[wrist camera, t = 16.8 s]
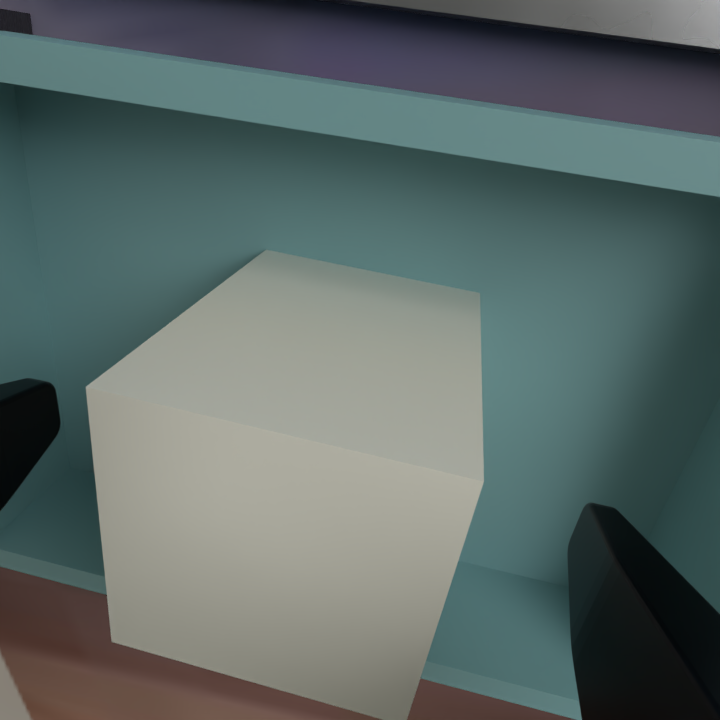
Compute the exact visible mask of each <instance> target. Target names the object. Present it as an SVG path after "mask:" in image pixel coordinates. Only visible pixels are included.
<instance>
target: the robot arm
mask: <svg viewBox="0 0 720 720" xmlns="http://www.w3.org/2000/svg"><path fill="white" fill-rule="evenodd" d="M60 425H61V420H60V413H59V407H58V400H57V393H56V389H55V387H54V385H53V384H51V383H50V382H47V381H43V380H38V379H34V378H24V379H20V380H16V381H12V382H7V383H3V384H0V511H1V510H2V509H3V508H4V507H5V505H6V504H7V503H8V501H9V500H10V499H11V498H12V496H13V495H14V494H15V492H16V491H17V490H18V488H19V487H20V485H21V484H22V483H23V481H24V480H25V479H26V477H27V476H28V475H29V473H30V472H31V471H32V469H33V468H34V466H35V465H36V464H37V462H38V461H39V460H40V458H41V457H42V456H43V454H44V453H45V452H46V450H47V449H48V447H49V446H50V445H51V443H52V442H53V441H54V439H55V438H56V436H57V435H58V432H59V430H60ZM567 561H568V587H569V612H570V636H571V650H572V658H573V666H574V672H575V679H576V685H577V691H578V698H579V704H580V711H581V717H582V720H720V613H719V612H718V611H717V610H716V609H715V608H714V607H713V606H712V605H711V604H710V603H709V602H708V601H707V600H706V599H705V598H704V597H703V596H702V595H701V594H700V593H699V592H698V591H697V590H696V589H695V588H694V587H693V586H692V585H691V584H690V583H689V582H688V581H687V580H686V579H685V578H684V577H683V576H682V575H681V574H680V573H679V572H678V571H677V570H676V569H675V568H674V567H673V566H672V565H671V564H670V563H669V562H668V561H667V560H666V559H665V558H664V557H663V556H662V555H661V554H660V553H659V552H658V551H657V549H656V548H655V547H654V546H653V545H652V544H651V543H650V542H649V541H648V540H647V539H646V538H645V537H644V536H643V535H642V534H641V533H640V532H639V531H638V530H637V529H636V528H635V527H634V526H633V525H632V524H631V523H630V522H629V521H628V520H627V519H626V518H625V517H624V516H623V515H622V514H621V513H620V512H619V511H618V510H617V509H615V508H614V507H610V506H606V505H601V504H597V503H592V502H590V503H588V504H586V505H585V506H584V507H583V509H582V512H581V514H580V516H579V519H578V521H577V523H576V526H575V528H574V531H573V533H572V535H571V538H570V541H569V544H568V551H567Z"/></svg>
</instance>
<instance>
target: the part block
mask: <svg viewBox="0 0 720 720" xmlns="http://www.w3.org/2000/svg"><path fill="white" fill-rule="evenodd" d="M86 395H87V405H88V415H89V425H90V434H91V444H92V454H93V464H94V474H95V483H96V493H97V503H98V513H99V523H100V532H101V542H102V552H103V562H104V571H105V581H106V591H107V601H108V611H109V620H110V630H111V640H112V642H114V643H118V644H121V645H125V646H128V647H132V648H135V649H139V650H142V651H146V652H149V653H153V654H156V655H160V656H163V657H167V658H170V659H174V660H177V661H180V662H184V663H187V664H191V665H194V666H198V667H201V668H205V669H208V670H212V671H215V672H219V673H222V674H226V675H229V676H233V677H236V678H240V679H243V680H247V681H250V682H254V683H257V684H261V685H264V686H268V687H271V688H275V689H278V690H282V691H285V692H289V693H292V694H296V695H299V696H303V697H306V698H310V699H313V700H316V701H320V702H323V703H327V704H330V705H334V706H337V707H341V708H344V709H348V710H351V711H355V712H358V713H362V714H365V715H369V716H372V717H376V718H379V719H383V720H407V718H408V715H409V712H410V708H411V705H412V702H413V699H414V696H415V693H416V690H417V687H418V684H419V681H420V678H421V674H422V671H423V668H424V665H425V662H426V659H427V656H428V653H429V650H430V647H431V644H432V641H433V637H434V634H435V631H436V628H437V625H438V622H439V619H440V616H441V613H442V610H443V607H444V603H445V600H446V597H447V594H448V591H449V588H450V585H451V582H452V579H453V576H454V573H455V569H456V566H457V563H458V560H459V557H460V554H461V551H462V548H463V545H464V542H465V539H466V536H467V532H468V529H469V526H470V523H471V520H472V517H473V514H474V511H475V508H476V505H477V502H478V498H479V495H480V492H481V489H482V486H483V483H484V458H483V411H482V364H481V317H480V293H477V292H472V291H467V290H463V289H458V288H453V287H448V286H443V285H438V284H433V283H428V282H423V281H418V280H413V279H408V278H403V277H399V276H394V275H389V274H384V273H379V272H374V271H369V270H364V269H359V268H354V267H349V266H344V265H339V264H334V263H330V262H325V261H320V260H315V259H310V258H305V257H300V256H295V255H290V254H285V253H280V252H275V251H270V250H265V251H264V252H262V253H261V254H260V255H258V256H257V257H256V258H254V259H253V260H252V261H250V262H249V263H248V264H246V265H245V266H244V267H243V268H241V269H240V270H239V271H237V272H236V273H235V274H233V275H232V276H231V277H229V278H228V279H227V280H225V281H224V282H223V283H222V284H220V285H219V286H218V287H216V288H215V289H214V290H212V291H211V292H210V293H208V294H207V295H206V296H204V297H203V298H202V299H200V300H199V301H198V302H197V303H195V304H194V305H193V306H191V307H190V308H189V309H187V310H186V311H185V312H183V313H182V314H181V315H179V316H178V317H177V318H176V319H174V320H173V321H172V322H170V323H169V324H168V325H166V326H165V327H164V328H162V329H161V330H160V331H158V332H157V333H156V334H154V335H153V336H152V337H151V338H149V339H148V340H147V341H145V342H144V343H143V344H141V345H140V346H139V347H137V348H136V349H135V350H133V351H132V352H131V353H130V354H128V355H127V356H126V357H124V358H123V359H122V360H120V361H119V362H118V363H116V364H115V365H114V366H112V367H111V368H110V369H108V370H107V371H106V372H105V373H103V374H102V375H101V376H99V377H98V378H97V379H95V380H94V381H93V382H91V383H90V384H89V385H87V386H86Z"/></svg>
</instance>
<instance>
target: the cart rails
mask: <svg viewBox="0 0 720 720" xmlns="http://www.w3.org/2000/svg"><path fill="white" fill-rule="evenodd" d="M318 1H325V2H333V3H340V4H348V5H355V6H363V7H370V8H378V9H385V10H393V11H401V12H408V13H416V14H423V15H431V16H438V17H446V18H453V19H461V20H468V21H476V22H483V23H491V24H498V25H506V26H514V27H521V28H529V29H536V30H544V31H551V32H559V33H566V34H574V35H581V36H589V37H596V38H604V39H611V40H619V41H627V42H634V43H642V44H649V45H657V46H664V47H672V48H679V49H687V50H694V51H702V52H709V53H717V54H720V0H318ZM0 31H8V32H16V33H23V34H30V35H32V27H31V19H30V14H28V13H22V12H16V11H10V10H4V9H0Z"/></svg>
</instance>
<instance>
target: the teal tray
mask: <svg viewBox="0 0 720 720" xmlns="http://www.w3.org/2000/svg"><path fill="white" fill-rule="evenodd" d="M265 250H270V251H275V252H280V253H285V254H290V255H295V256H300V257H305V258H310V259H315V260H320V261H325V262H330V263H334V264H339V265H344V266H349V267H354V268H359V269H364V270H369V271H374V272H379V273H384V274H389V275H394V276H399V277H403V278H408V279H413V280H418V281H423V282H428V283H433V284H438V285H443V286H448V287H453V288H458V289H463V290H467V291H472V292H477V293H480V317H481V364H482V411H483V458H484V483H483V486H482V489H481V492H480V495H479V498H478V502H477V505H476V508H475V511H474V514H473V517H472V520H471V523H470V526H469V529H468V532H467V536H466V539H465V542H464V545H463V548H462V551H461V554H460V557H459V560H458V563H457V566H456V569H455V573H454V576H453V579H452V582H451V585H450V588H449V591H448V594H447V597H446V600H445V603H444V607H443V610H442V613H441V616H440V619H439V622H438V625H437V628H436V631H435V634H434V637H433V641H432V644H431V647H430V650H429V653H428V656H427V659H426V662H425V665H424V668H423V671H422V674H421V678H422V679H425V680H429V681H433V682H437V683H441V684H444V685H448V686H452V687H456V688H459V689H463V690H467V691H471V692H474V693H478V694H482V695H486V696H489V697H493V698H497V699H501V700H505V701H508V702H512V703H516V704H520V705H523V706H527V707H531V708H535V709H538V710H542V711H546V712H550V713H553V714H557V715H561V716H565V717H569V718H572V719H576V720H582V717H581V711H580V704H579V698H578V691H577V685H576V679H575V672H574V666H573V658H572V650H571V636H570V612H569V587H568V561H567V551H568V544H569V541H570V538H571V535H572V533H573V531H574V528H575V526H576V523H577V521H578V519H579V516H580V514H581V512H582V509H583V507H584V506H585V505H586V504H588V503H590V502H592V503H597V504H601V505H606V506H610V507H614V508H615V509H617V510H618V511H619V512H620V513H621V514H622V515H623V516H624V517H625V518H626V519H627V520H628V521H629V522H630V523H631V524H632V525H633V526H634V527H635V528H636V529H637V530H638V531H639V532H640V533H641V534H642V535H643V536H644V537H645V538H646V539H647V540H648V541H649V542H650V543H651V544H652V545H653V546H654V547H655V548H656V549H657V551H658V552H659V553H660V554H661V555H662V556H663V557H664V558H665V559H666V560H667V561H668V562H669V563H670V564H671V565H672V566H673V567H674V568H675V569H676V570H677V571H678V572H679V573H680V574H681V575H682V576H683V577H684V578H685V579H686V580H687V581H688V582H689V583H690V584H691V585H692V586H693V587H694V588H695V589H696V590H697V591H698V592H699V593H700V594H701V595H702V596H703V597H704V598H705V599H706V600H707V601H708V602H709V603H710V604H711V605H712V606H713V607H714V608H715V609H716V610H717V611H718V612H719V613H720V137H717V136H710V135H704V134H697V133H690V132H683V131H677V130H670V129H663V128H656V127H650V126H643V125H636V124H629V123H623V122H616V121H609V120H602V119H596V118H589V117H582V116H576V115H569V114H562V113H555V112H549V111H542V110H535V109H528V108H522V107H515V106H508V105H501V104H495V103H488V102H481V101H474V100H468V99H461V98H454V97H448V96H441V95H434V94H427V93H421V92H414V91H407V90H400V89H394V88H387V87H380V86H373V85H367V84H360V83H353V82H346V81H340V80H333V79H326V78H320V77H313V76H306V75H299V74H293V73H286V72H279V71H272V70H266V69H259V68H252V67H245V66H239V65H232V64H225V63H218V62H212V61H205V60H198V59H191V58H185V57H178V56H171V55H165V54H158V53H151V52H144V51H138V50H131V49H124V48H117V47H111V46H104V45H97V44H90V43H84V42H77V41H70V40H63V39H57V38H50V37H43V36H37V35H30V34H23V33H16V32H8V31H0V384H3V383H7V382H12V381H16V380H20V379H24V378H34V379H38V380H43V381H47V382H50V383H51V384H53V385H54V387H55V389H56V393H57V400H58V407H59V413H60V420H61V425H60V430H59V432H58V435H57V436H56V438H55V439H54V441H53V442H52V443H51V445H50V446H49V447H48V449H47V450H46V452H45V453H44V454H43V456H42V457H41V458H40V460H39V461H38V462H37V464H36V465H35V466H34V468H33V469H32V471H31V472H30V473H29V475H28V476H27V477H26V479H25V480H24V481H23V483H22V484H21V485H20V487H19V488H18V490H17V491H16V492H15V494H14V495H13V496H12V498H11V499H10V500H9V501H8V503H7V504H6V505H5V507H4V508H3V509H2V510H1V511H0V567H4V568H8V569H11V570H15V571H19V572H23V573H26V574H30V575H34V576H38V577H41V578H45V579H49V580H53V581H57V582H60V583H64V584H68V585H72V586H75V587H79V588H83V589H87V590H90V591H94V592H98V593H102V594H105V595H107V591H106V581H105V571H104V562H103V552H102V542H101V532H100V523H99V513H98V503H97V493H96V483H95V474H94V464H93V454H92V444H91V434H90V425H89V415H88V405H87V395H86V386H87V385H89V384H90V383H91V382H93V381H94V380H95V379H97V378H98V377H99V376H101V375H102V374H103V373H105V372H106V371H107V370H108V369H110V368H111V367H112V366H114V365H115V364H116V363H118V362H119V361H120V360H122V359H123V358H124V357H126V356H127V355H128V354H130V353H131V352H132V351H133V350H135V349H136V348H137V347H139V346H140V345H141V344H143V343H144V342H145V341H147V340H148V339H149V338H151V337H152V336H153V335H154V334H156V333H157V332H158V331H160V330H161V329H162V328H164V327H165V326H166V325H168V324H169V323H170V322H172V321H173V320H174V319H176V318H177V317H178V316H179V315H181V314H182V313H183V312H185V311H186V310H187V309H189V308H190V307H191V306H193V305H194V304H195V303H197V302H198V301H199V300H200V299H202V298H203V297H204V296H206V295H207V294H208V293H210V292H211V291H212V290H214V289H215V288H216V287H218V286H219V285H220V284H222V283H223V282H224V281H225V280H227V279H228V278H229V277H231V276H232V275H233V274H235V273H236V272H237V271H239V270H240V269H241V268H243V267H244V266H245V265H246V264H248V263H249V262H250V261H252V260H253V259H254V258H256V257H257V256H258V255H260V254H261V253H262V252H264V251H265Z"/></svg>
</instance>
